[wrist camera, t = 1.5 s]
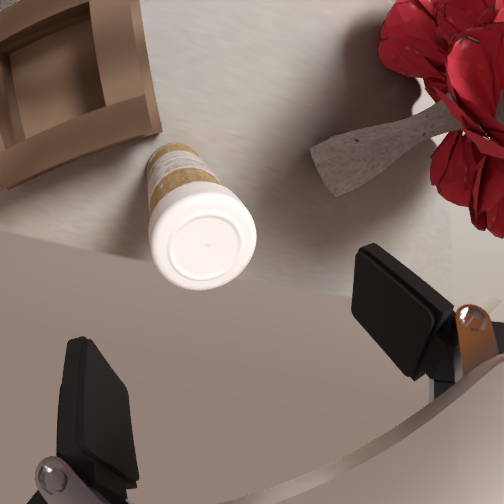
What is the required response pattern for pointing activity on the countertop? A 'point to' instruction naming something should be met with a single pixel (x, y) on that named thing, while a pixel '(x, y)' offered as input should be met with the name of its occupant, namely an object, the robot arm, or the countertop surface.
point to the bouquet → (437, 107)
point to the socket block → (71, 83)
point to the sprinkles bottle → (195, 221)
